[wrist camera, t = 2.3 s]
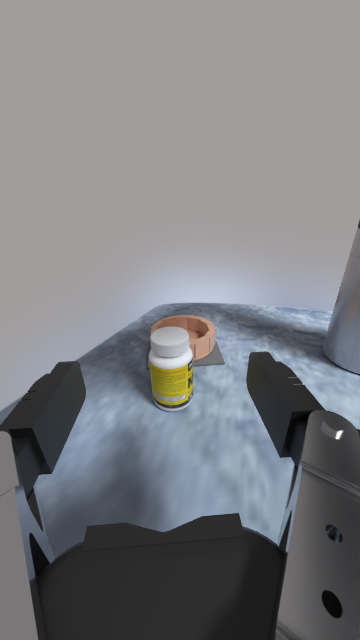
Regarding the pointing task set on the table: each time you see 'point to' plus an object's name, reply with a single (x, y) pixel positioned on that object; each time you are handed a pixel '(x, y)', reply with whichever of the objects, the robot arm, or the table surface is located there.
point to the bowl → (192, 333)
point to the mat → (211, 359)
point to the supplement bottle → (171, 368)
